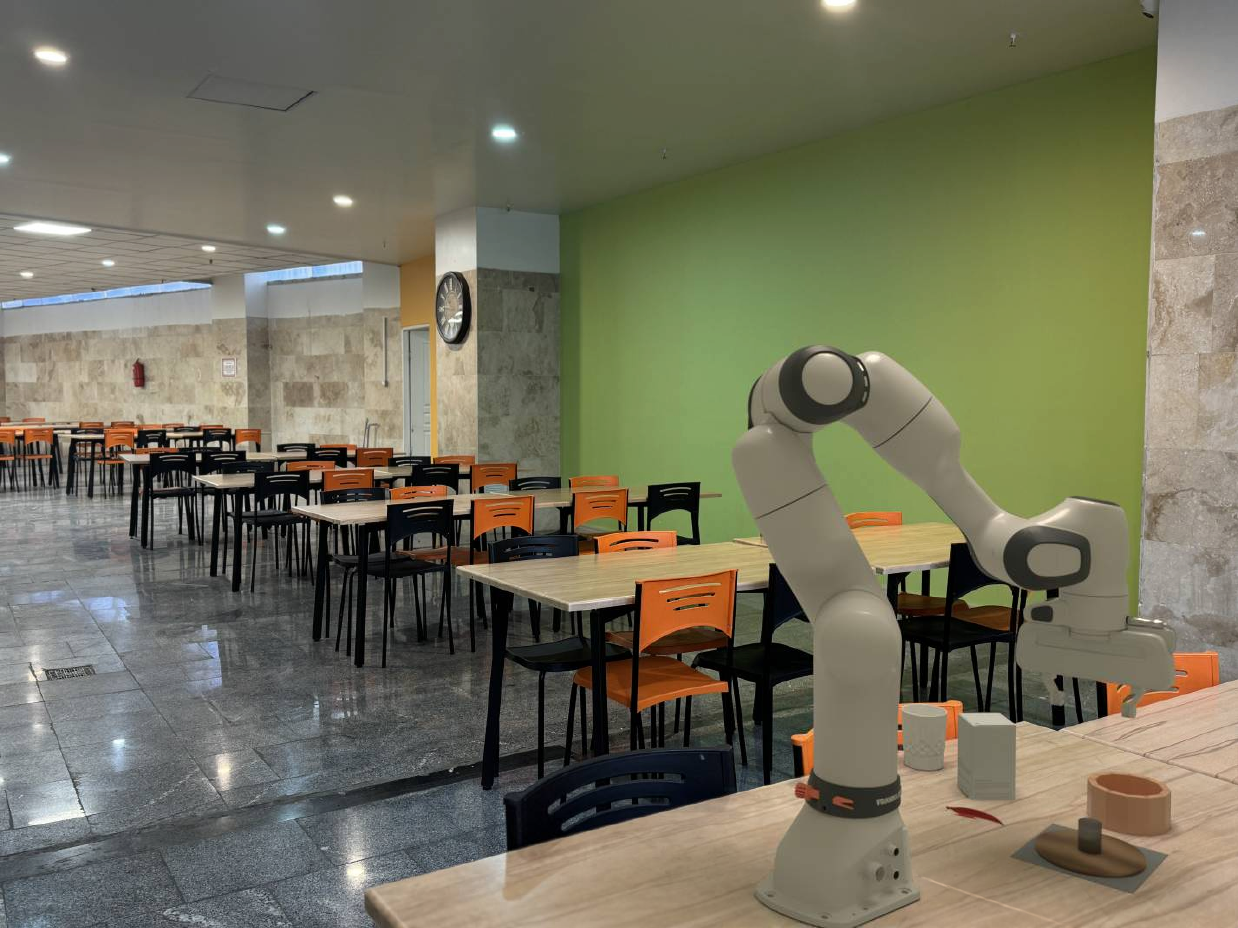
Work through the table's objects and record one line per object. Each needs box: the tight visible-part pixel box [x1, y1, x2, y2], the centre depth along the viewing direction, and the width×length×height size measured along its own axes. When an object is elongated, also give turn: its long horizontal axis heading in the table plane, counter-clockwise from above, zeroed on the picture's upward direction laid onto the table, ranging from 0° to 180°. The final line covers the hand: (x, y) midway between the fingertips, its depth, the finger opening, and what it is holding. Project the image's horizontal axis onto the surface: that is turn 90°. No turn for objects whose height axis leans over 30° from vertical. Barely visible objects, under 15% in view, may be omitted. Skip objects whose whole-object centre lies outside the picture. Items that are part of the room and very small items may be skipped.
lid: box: [1036, 817, 1146, 878], centre depth 140 cm, size 14×14×5 cm
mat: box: [1009, 823, 1169, 894], centre depth 140 cm, size 16×16×1 cm
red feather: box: [945, 805, 1005, 827], centre depth 154 cm, size 12×5×2 cm, turn 25°
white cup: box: [900, 703, 948, 772], centre depth 178 cm, size 8×8×10 cm
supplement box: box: [956, 712, 1017, 801], centre depth 164 cm, size 7×7×13 cm
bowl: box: [1086, 771, 1172, 837], centre depth 152 cm, size 11×11×6 cm
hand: (1092, 710), depth 139 cm, fingers open, 8 cm apart
